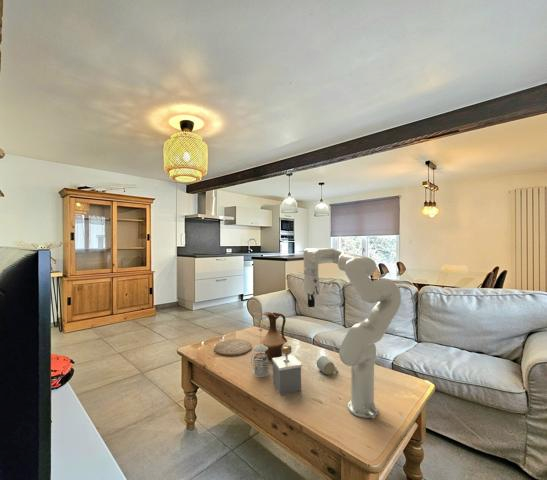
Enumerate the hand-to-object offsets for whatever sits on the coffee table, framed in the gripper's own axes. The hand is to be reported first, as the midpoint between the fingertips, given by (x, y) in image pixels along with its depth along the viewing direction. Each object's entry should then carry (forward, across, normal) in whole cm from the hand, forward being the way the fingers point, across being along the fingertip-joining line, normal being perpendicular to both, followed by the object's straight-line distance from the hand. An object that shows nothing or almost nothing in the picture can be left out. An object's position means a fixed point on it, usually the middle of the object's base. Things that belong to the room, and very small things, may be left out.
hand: (311, 306), depth 150 cm
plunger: (+37, -2, +15) cm, 40 cm away
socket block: (+39, 0, +15) cm, 42 cm away
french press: (+39, +16, +24) cm, 49 cm away
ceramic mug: (+39, +5, -12) cm, 42 cm away
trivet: (+40, +55, +32) cm, 75 cm away
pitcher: (+39, +34, +10) cm, 53 cm away
